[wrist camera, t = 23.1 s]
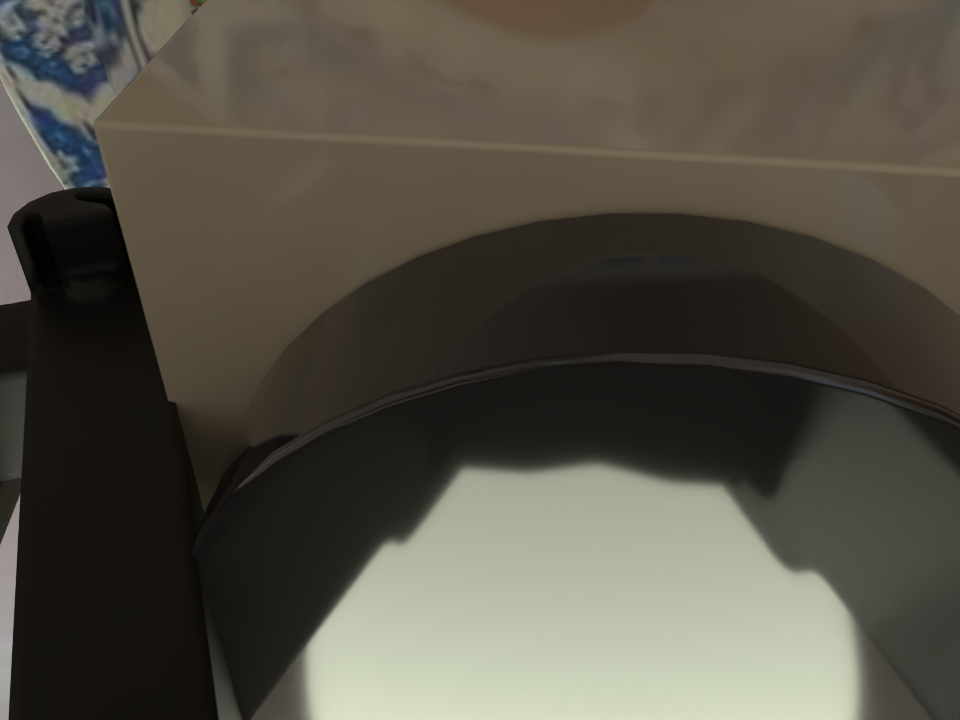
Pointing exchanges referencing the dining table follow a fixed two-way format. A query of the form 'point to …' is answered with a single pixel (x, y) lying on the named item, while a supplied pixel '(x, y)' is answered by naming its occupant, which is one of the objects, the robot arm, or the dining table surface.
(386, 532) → the beige box
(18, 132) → the dining table surface
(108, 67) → the ceramic plate
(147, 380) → the robot arm
